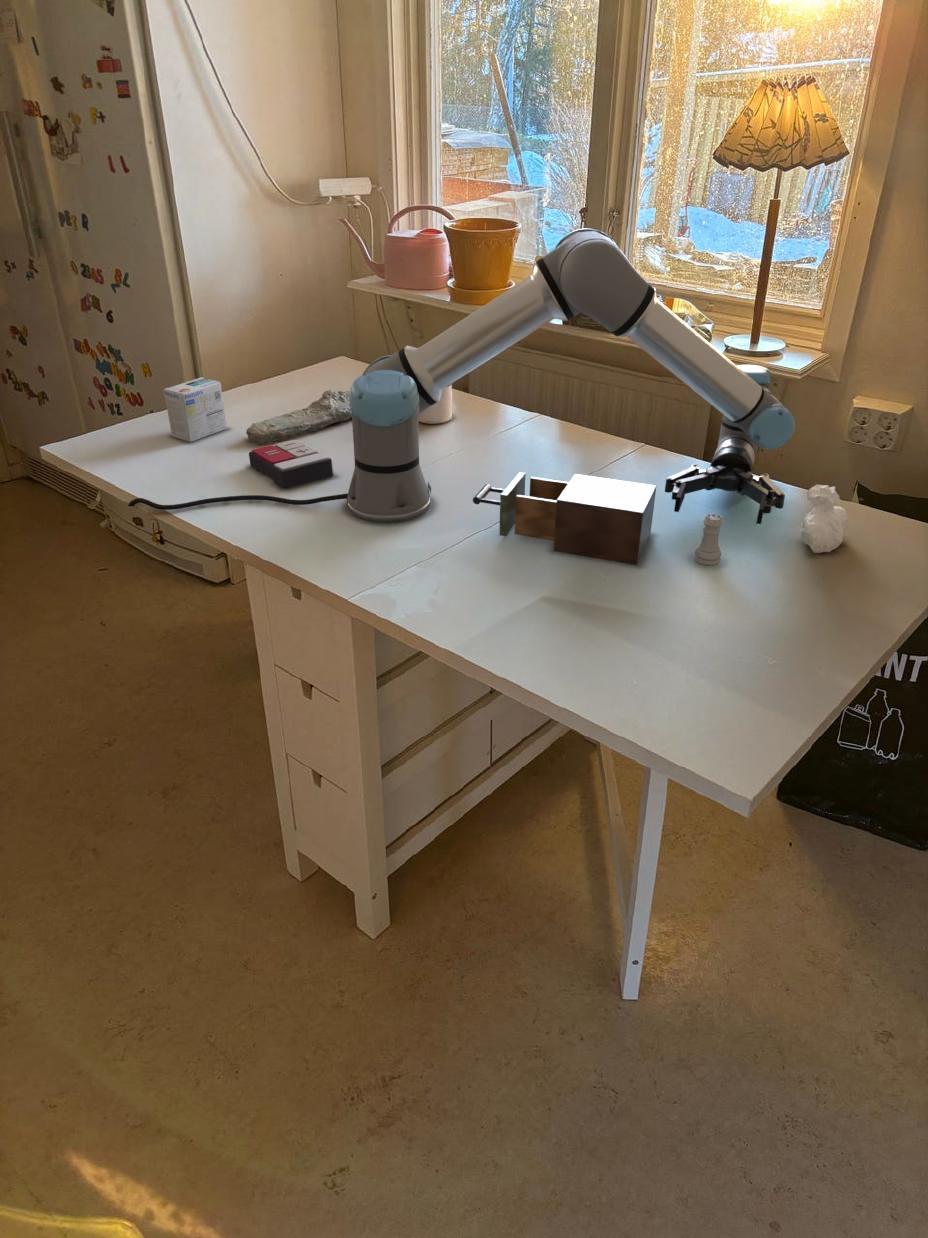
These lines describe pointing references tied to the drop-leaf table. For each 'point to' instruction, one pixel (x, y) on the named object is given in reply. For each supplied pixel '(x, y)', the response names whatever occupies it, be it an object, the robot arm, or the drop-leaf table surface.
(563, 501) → the cabinet
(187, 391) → the light bulb box
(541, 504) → the drawer
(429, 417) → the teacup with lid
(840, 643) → the drop-leaf table surface
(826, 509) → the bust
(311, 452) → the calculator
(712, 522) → the rook chess piece
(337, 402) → the long grey stone
